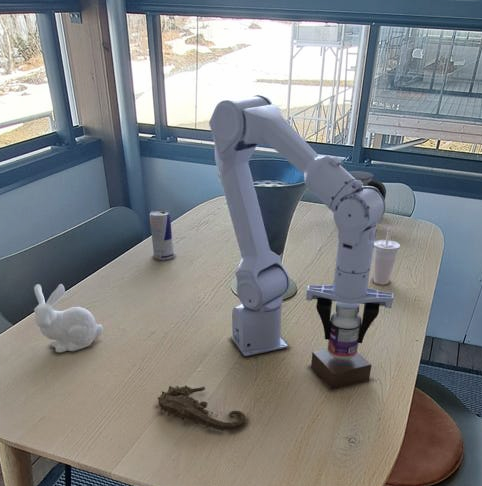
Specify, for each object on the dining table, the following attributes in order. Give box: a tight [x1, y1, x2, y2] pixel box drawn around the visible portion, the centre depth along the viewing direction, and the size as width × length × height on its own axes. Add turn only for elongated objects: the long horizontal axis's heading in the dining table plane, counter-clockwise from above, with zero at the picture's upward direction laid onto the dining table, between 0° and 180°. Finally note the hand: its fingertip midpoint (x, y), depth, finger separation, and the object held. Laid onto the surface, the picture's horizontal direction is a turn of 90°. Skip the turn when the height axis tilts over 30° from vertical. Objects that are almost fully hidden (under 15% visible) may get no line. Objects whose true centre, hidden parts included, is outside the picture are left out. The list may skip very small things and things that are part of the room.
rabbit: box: [33, 283, 104, 354], centre depth 105 cm, size 12×9×12 cm
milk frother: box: [347, 170, 387, 202], centre depth 168 cm, size 14×16×15 cm
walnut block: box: [310, 348, 372, 390], centre depth 98 cm, size 8×8×4 cm
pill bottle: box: [327, 301, 362, 359], centre depth 94 cm, size 5×5×10 cm
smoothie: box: [373, 226, 401, 286], centre depth 129 cm, size 6×6×14 cm
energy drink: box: [149, 209, 174, 261], centre depth 142 cm, size 5×5×12 cm
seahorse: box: [156, 384, 247, 431], centre depth 89 cm, size 9×16×3 cm, turn 48°
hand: (343, 338), depth 95 cm, fingers closed on pill bottle, 5 cm apart
